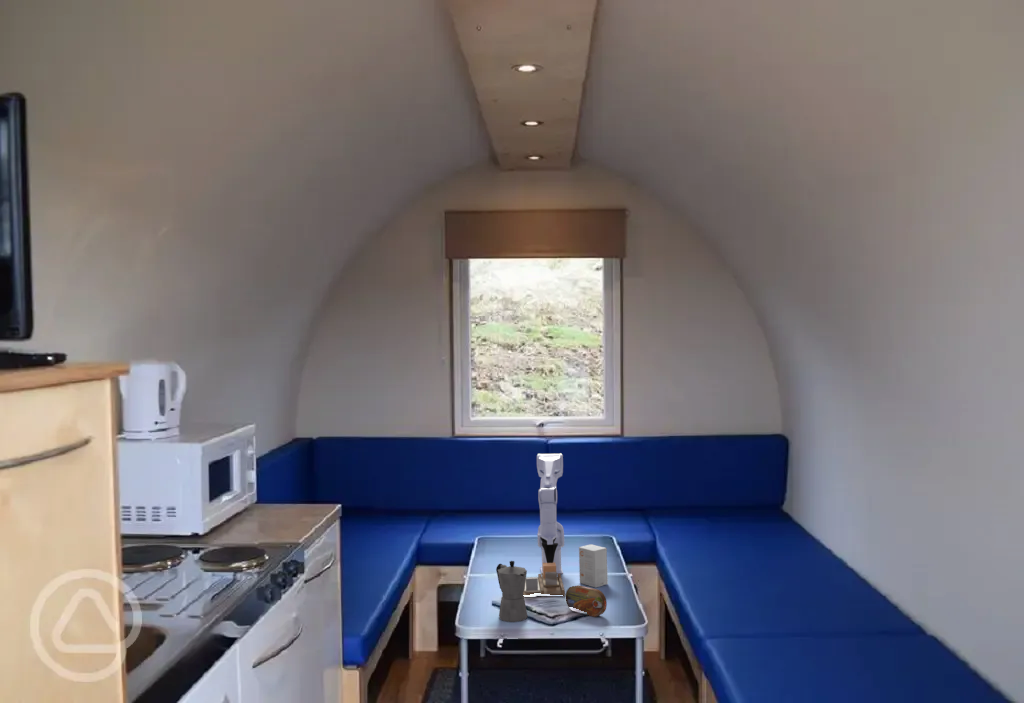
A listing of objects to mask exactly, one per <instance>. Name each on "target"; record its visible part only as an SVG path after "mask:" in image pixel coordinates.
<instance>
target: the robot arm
mask: <svg viewBox="0 0 1024 703" xmlns="http://www.w3.org/2000/svg"><path fill="white" fill-rule="evenodd" d="M563 457H564V455H563V454H562V453H561V452H560V453H537V455H536V469H537V473H538V477H539V478H540V487H539V489H538V493H537V494H538V498H537V499H538V505H539V520H540V522H539V524H540V525H538V527H537V535H536V536H537V546H538V547H539V548H540V550H541V566H540V567H539V569H540V574H541V573H543V563H553V562H555V564H556V572H557V575H558V573H560V574H561V575H563V574H564V570H563V568H562V548H564V547H565V532H564V531H565V530H564V526H563V525H562V524H561V523H560V522H558V521H557V504H558V490H557V482H558V479H560V478H561V477H563V473H564V458H563Z"/></svg>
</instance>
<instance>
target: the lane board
mask: <svg viewBox="0 0 1024 703" xmlns="http://www.w3.org/2000/svg"><path fill="white" fill-rule="evenodd" d="M536 577H537V578H538V582H539V587H540V592H526V593H524V592H523V595H530V594H534V593H541V594H550V595H563V596H562V597H566V591H565V586H564V583H563V578H562V574H560V573H558V574H557V578H558V582H559V586H553V587H544V586H543V580H542V575H541V573H538V574H537V576H536Z"/></svg>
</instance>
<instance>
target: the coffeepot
mask: <svg viewBox="0 0 1024 703" xmlns="http://www.w3.org/2000/svg"><path fill="white" fill-rule="evenodd" d="M495 570H496V575H497V579H498V580H497V581H498V584H499V585H498V586H499V589H500V591H501V594H502V596H501V598H500V605H499V613H498V617H499V619H500V620H501V621H503V622H507V623H517V622H523V621H525V620H526V619H527V618H528V612H527V606H526V600H525V598H524V596H523V592H524V591H525V582H526V577H527V573H528V570H527V569H526V567H521V566H515V561H514V560H510V561H509V566H507V565H506V564H502V563H499V564H497V566H496V569H495Z"/></svg>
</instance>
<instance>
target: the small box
mask: <svg viewBox="0 0 1024 703" xmlns="http://www.w3.org/2000/svg"><path fill="white" fill-rule="evenodd" d="M607 550H608V549H607V548H606V547H604V546H600V545H595V544H592V543H591V544H586V545H582V546H579V547H578V557H579V558H578V559H579V560H578V563H579V566H578V567H579V568H578V569H579V584H582V585H584V586H585V585H586V586H587V587H591V588H594V589H597V588H600V587H602V586H605V585H608V553H607V552H608V551H607Z"/></svg>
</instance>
